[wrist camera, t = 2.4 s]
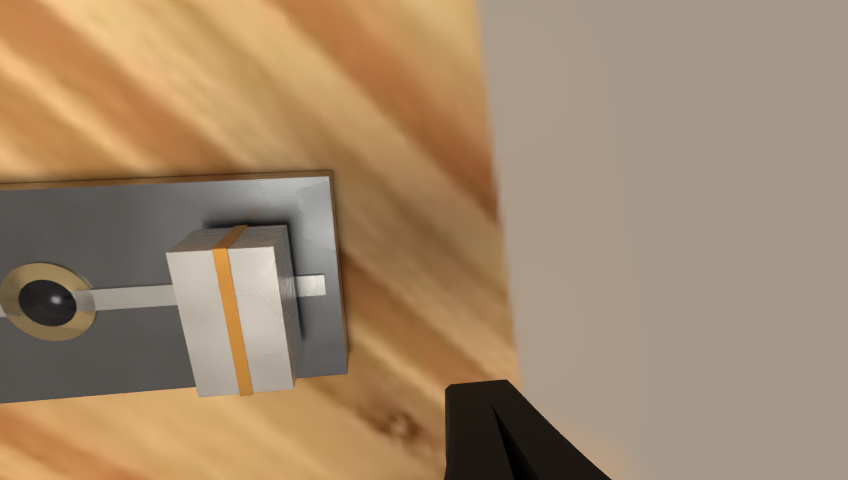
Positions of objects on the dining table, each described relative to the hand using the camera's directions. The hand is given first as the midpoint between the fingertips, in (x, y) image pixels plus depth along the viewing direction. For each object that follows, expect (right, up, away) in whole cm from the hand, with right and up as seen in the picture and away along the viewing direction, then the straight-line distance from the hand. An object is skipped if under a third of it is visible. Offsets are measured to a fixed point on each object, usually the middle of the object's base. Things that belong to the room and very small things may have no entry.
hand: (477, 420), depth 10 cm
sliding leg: (-7, +2, +6) cm, 10 cm away
